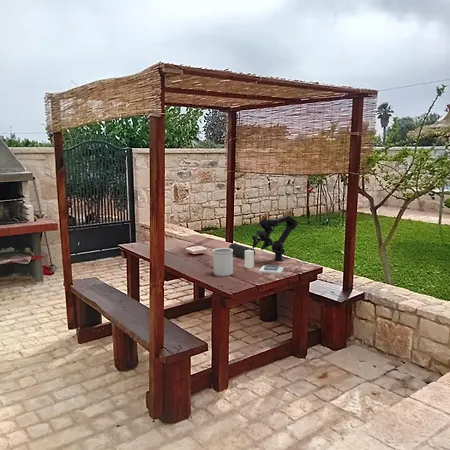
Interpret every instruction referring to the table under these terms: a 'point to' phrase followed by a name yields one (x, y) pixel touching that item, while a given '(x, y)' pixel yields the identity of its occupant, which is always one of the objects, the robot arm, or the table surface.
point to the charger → (249, 258)
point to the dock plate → (271, 269)
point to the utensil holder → (223, 261)
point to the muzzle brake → (239, 250)
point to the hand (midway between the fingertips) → (257, 248)
